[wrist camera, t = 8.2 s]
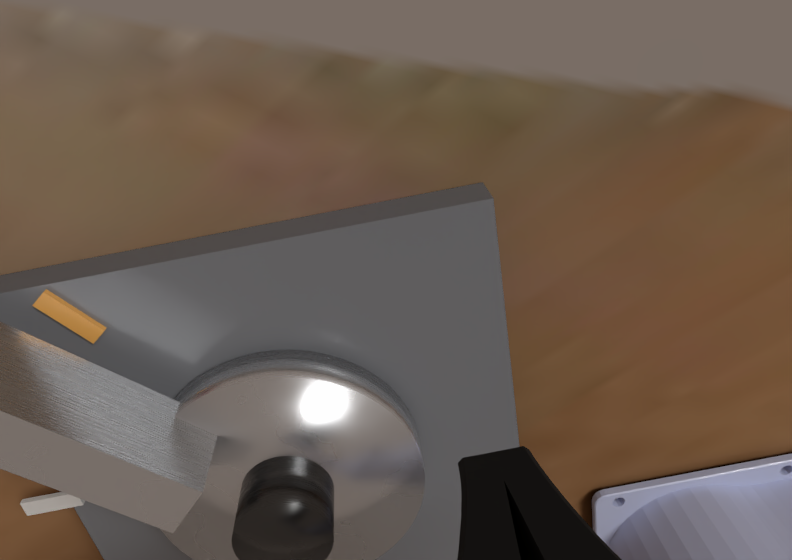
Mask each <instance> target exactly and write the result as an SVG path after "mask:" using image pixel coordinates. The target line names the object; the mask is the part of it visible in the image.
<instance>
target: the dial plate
mask: <svg viewBox="0 0 792 560" xmlns="http://www.w3.org/2000/svg"><path fill="white" fill-rule="evenodd" d="M0 322H3V323H5V324H7V325H9V326H11V327H14V328H16V329H18V330H20V331H23V332H25V333H27V334H29V335H31V336H34V337H36V338H38V339H40V340H43V341H45V342H47V343H49V344H51V345H54V346H56V347H58V348H60V349H63V350H65V351H67V352H69V353H72V354H74V355H76V356H78V357H80V358H83V359H85V360H87V361H89V362H92V363H94V364H96V365H98V366H100V367H103V368H105V369H107V370H109V371H112V372H114V373H116V374H118V375H120V376H123V377H125V378H127V379H129V380H132V381H134V382H136V383H138V384H140V385H143V386H145V387H147V388H149V389H152V390H154V391H156V392H158V393H160V394H163V395H165V396H167V397H169V398H172V399H174V400H175V398H176V397H177V396H178V394H179V393H180V392H181V391H182V390H183V389H184V388H185V387H186V386H187V385H188V384H189V383H190V382H192V381H193V380H194V379H196V378H197V377H199V376H200V375H201V374H203V373H204V372H206V371H208V370H210V369H211V368H213V367H215V366H217V365H219V364H221V363H224V362H226V361H229V360H231V359H234V358H237V357H240V356H244V355H248V354H252V353H256V352H263V351H271V350H304V351H314V352H319V353H324V354H329V355H332V356H336V357H339V358H342V359H345V360H348V361H350V362H352V363H355V364H357V365H359V366H361V367H363V368H365V369H367V370H368V371H370V372H372V373H373V374H375V375H377V376H378V377H379V378H380V379H382V380H383V381H384V382H385V383H387V384H388V385H389V386H390V387H391V388H392V389H393V390H394V391H395V392H396V393H397V394H398V395H399V396H400V398H401V399H402V400H403V402H404V403H405V405H406V406H407V408H408V409H409V411H410V413H411V415H412V417H413V419H414V422H415V425H416V428H417V432H418V436H419V442H420V448H421V453H422V459H423V465H424V474H425V488H424V495H423V499H422V504H421V506H420V509H419V511H418V514H417V516H416V518H415V519H414V521H413V523H412V524H411V526H410V528H409V529H408V530H407V532H406V533H405V534H404V535H403V537H402V538H401V539H400V540H399V541H398V542H397V543H396V544H395V545H394V546H393V547H392V548H390V549H389V550H388V551H387V552H385V553H384V554H383V555H381V556H380V557H378V558H377V559H375V560H457V558H458V550H459V537H460V525H461V500H462V499H461V480H460V474H459V468H458V462H459V461H460V460H461V459H462V458H464V457H469V456H475V455H480V454H485V453H490V452H496V451H501V450H506V449H511V448H517V447H519V438H518V428H517V419H516V409H515V400H514V390H513V381H512V371H511V362H510V352H509V343H508V333H507V324H506V314H505V305H504V295H503V286H502V276H501V267H500V257H499V248H498V238H497V229H496V219H495V210H494V200H493V197H492V196H491V194H490V193H489V191H488V190H487V188H486V187H485V185H484V184H483V182H482V183H477V184H472V185H467V186H462V187H457V188H451V189H446V190H441V191H436V192H431V193H425V194H420V195H415V196H410V197H405V198H400V199H394V200H389V201H384V202H379V203H374V204H368V205H363V206H358V207H353V208H348V209H343V210H337V211H332V212H327V213H322V214H317V215H311V216H306V217H301V218H296V219H291V220H286V221H280V222H275V223H270V224H265V225H260V226H255V227H249V228H244V229H239V230H234V231H229V232H223V233H218V234H213V235H208V236H203V237H198V238H192V239H187V240H182V241H177V242H172V243H166V244H161V245H156V246H151V247H146V248H141V249H135V250H130V251H125V252H120V253H115V254H109V255H104V256H99V257H94V258H89V259H84V260H78V261H73V262H68V263H63V264H58V265H52V266H47V267H42V268H37V269H32V270H27V271H21V272H16V273H11V274H6V275H1V276H0ZM20 505H21V506H22V508H23V510H24V511H25V513H26V514H27V516H29V515H35V514H40V513H45V512H50V511H55V510H61V509H66V508H71V507H74V508H75V510H76V512H77V514H78V515H79V517H80V519H81V521H82V522H83V524H84V526H85V527H86V529H87V531H88V533H89V534H90V536H91V538H92V540H93V541H94V543H95V545H96V547H97V548H98V550H99V552H100V553H101V555H102V557H103V559H104V560H193V559H192V558H190V557H189V556H187V555H186V554H185V553H183V552H182V551H180V550H179V549H178V548H177V547H176V546H175V545H174V544H173V543H172V542H171V541H170V540H169V539H168V538H167V537H166V536H165V534H164V533H163V532H162V531H161V530H160V528H157V527H155V526H152V525H149V524H147V523H144V522H141V521H139V520H136V519H133V518H131V517H128V516H125V515H123V514H120V513H117V512H115V511H112V510H109V509H107V508H104V507H101V506H99V505H96V504H93V503H91V502H88V501H85V500H83V499H80V498H77V497H75V496H72V495H69V494H67V493H64V492H58V493H53V494H48V495H42V496H37V497H32V498H27V499H22V501H21V503H20Z"/></svg>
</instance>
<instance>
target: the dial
mask: <svg viewBox="0 0 792 560" xmlns="http://www.w3.org/2000/svg"><path fill="white" fill-rule="evenodd" d="M0 469H3V470H5V471H8V472H11V473H13V474H16V475H19V476H21V477H24V478H27V479H29V480H32V481H35V482H37V483H40V484H43V485H45V486H48V487H51V488H53V489H56V490H59V491H61V492H64V493H67V494H69V495H72V496H75V497H77V498H80V499H83V500H85V501H88V502H91V503H93V504H96V505H99V506H101V507H104V508H107V509H109V510H112V511H115V512H117V513H120V514H123V515H125V516H128V517H131V518H133V519H136V520H139V521H141V522H144V523H147V524H149V525H152V526H155V527H157V528H160V530H161V531H162V532H163V533H164V534H165V536H166V537H167V538H168V539H169V540H170V541H171V542H172V543H173V544H174V545H175V546H176V547H177V548H178V549H179V550H180V551H182V552H183V553H185V554H186V555H187V556H189V557H190V558H192V559H193V560H375V559H377V558H378V557H380V556H381V555H383V554H384V553H385V552H387V551H388V550H389V549H390V548H392V547H393V546H394V545H395V544H396V543H397V542H398V541H399V540H400V539H401V538H402V537H403V535H404V534H405V533H406V532H407V530H408V529H409V528H410V526H411V524H412V523H413V521H414V519H415V518H416V516H417V514H418V511H419V509H420V506H421V504H422V499H423V495H424V488H425V474H424V465H423V459H422V453H421V448H420V442H419V436H418V432H417V428H416V425H415V422H414V419H413V417H412V415H411V413H410V411H409V409H408V408H407V406H406V405H405V403H404V402H403V400H402V399H401V398H400V396H399V395H398V394H397V393H396V392H395V391H394V390H393V389H392V388H391V387H390V386H389V385H388V384H387V383H385V382H384V381H383V380H382V379H380V378H379V377H378V376H377V375H375V374H373V373H372V372H370V371H368V370H367V369H365V368H363V367H361V366H359V365H357V364H355V363H352V362H350V361H348V360H345V359H342V358H339V357H336V356H332V355H329V354H324V353H319V352H314V351H304V350H271V351H263V352H256V353H252V354H248V355H244V356H240V357H237V358H234V359H231V360H229V361H226V362H224V363H221V364H219V365H217V366H215V367H213V368H211V369H210V370H208V371H206V372H204V373H203V374H201V375H200V376H199V377H197V378H196V379H194V380H193V381H192V382H190V383H189V384H188V385H187V386H186V387H185V388H184V389H183V390H182V391H181V392H180V393H179V394H178V396H177V397H176V398H175V400H174V399H172V398H169V397H167V396H165V395H163V394H160V393H158V392H156V391H154V390H152V389H149V388H147V387H145V386H143V385H140V384H138V383H136V382H134V381H132V380H129V379H127V378H125V377H123V376H120V375H118V374H116V373H114V372H112V371H109V370H107V369H105V368H103V367H100V366H98V365H96V364H94V363H92V362H89V361H87V360H85V359H83V358H80V357H78V356H76V355H74V354H72V353H69V352H67V351H65V350H63V349H60V348H58V347H56V346H54V345H51V344H49V343H47V342H45V341H43V340H40V339H38V338H36V337H34V336H31V335H29V334H27V333H25V332H23V331H20V330H18V329H16V328H14V327H11V326H9V325H7V324H5V323H3V322H0Z"/></svg>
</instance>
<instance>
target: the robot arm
mask: <svg viewBox="0 0 792 560" xmlns="http://www.w3.org/2000/svg"><path fill="white" fill-rule="evenodd" d="M458 468H459V474H460V480H461V499H462V500H461V525H460V537H459V550H458V558H457V560H792V453H791V454H786V455H780V456H775V457H770V458H765V459H759V460H754V461H749V462H744V463H738V464H733V465H728V466H723V467H717V468H712V469H707V470H702V471H696V472H691V473H686V474H681V475H675V476H670V477H665V478H660V479H655V480H649V481H644V482H639V483H634V484H628V485H623V486H618V487H613V488H607V489H602V490H599V491H598V492H596V493H595V494H594V496H593V497H592V521H593V529H592V528H591V527H590V526H589V525H588V524H587V523H586V522H585V521H584V519H583V518H582V517H581V516H580V515H579V514H578V513H577V512H576V510H575V509H574V508H573V507H572V506H571V505H570V504H569V502H568V501H567V500H566V499H565V498H564V496H563V495H562V494H561V493H560V491H559V490H558V489H557V488H556V486H555V485H554V484H553V483H552V481H551V480H550V479H549V477H548V476H547V475H546V474H545V472H544V471H543V469H542V468H541V467H540V465H539V464H538V462H537V461H536V460H535V458H534V457H533V455H532V453H531V452H530V450H529V449H527V448H525V447H524V446H522V447H517V448H511V449H506V450H501V451H496V452H490V453H485V454H480V455H475V456H469V457H464V458H462V459H461V460H460V461H459V462H458ZM616 498H617V499H616Z"/></svg>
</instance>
